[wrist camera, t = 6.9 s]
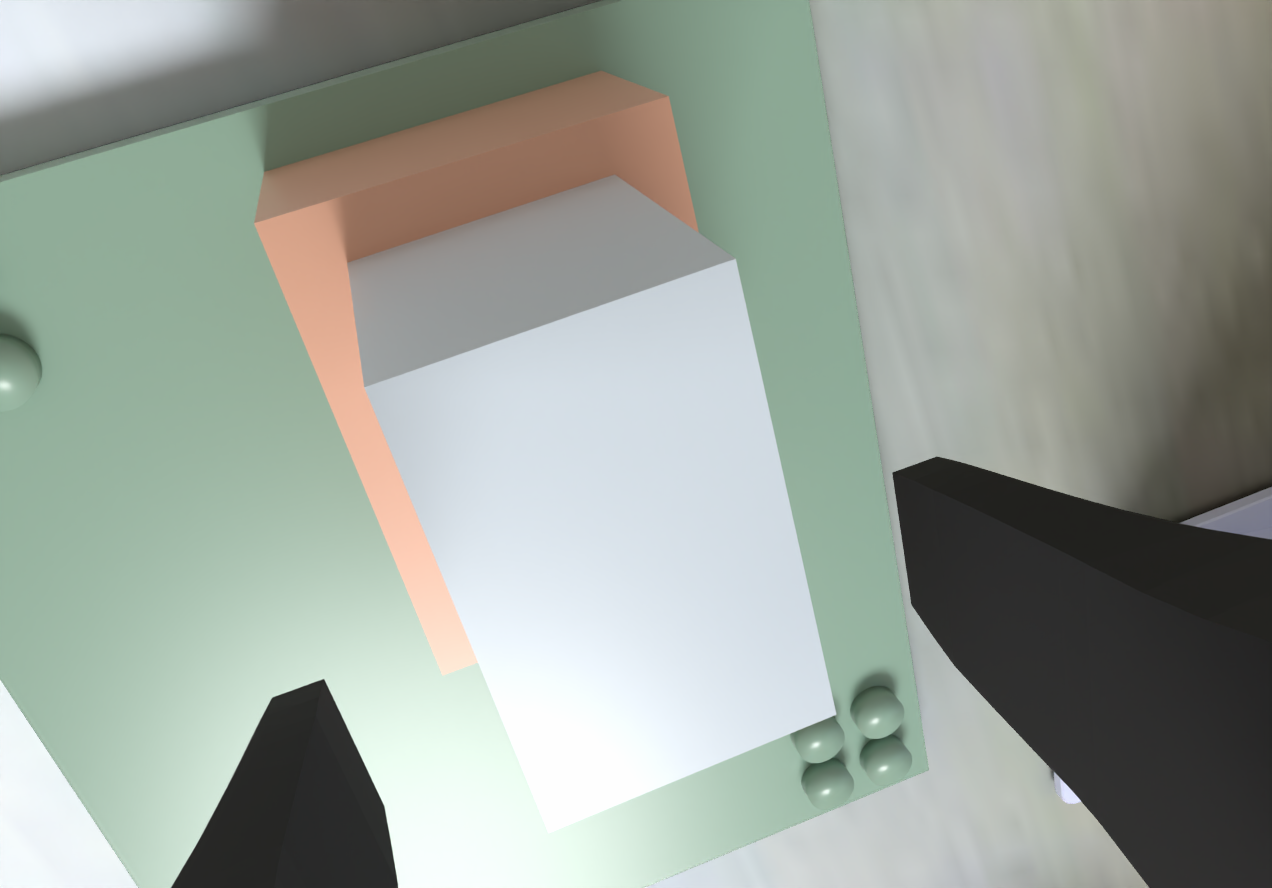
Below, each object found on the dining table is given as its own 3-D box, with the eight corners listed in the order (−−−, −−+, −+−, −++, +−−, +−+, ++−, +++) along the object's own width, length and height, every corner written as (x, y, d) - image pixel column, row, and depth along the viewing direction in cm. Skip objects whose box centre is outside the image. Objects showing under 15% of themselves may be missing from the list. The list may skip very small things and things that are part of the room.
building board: (778, -52, 20) (812, -52, 19) (910, 745, 29) (938, 783, 28) (-247, 247, 17) (-293, 270, 16) (249, 1015, 27) (246, 1071, 25)
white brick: (614, 174, 16) (736, 258, 11) (710, 535, 19) (836, 714, 14) (347, 262, 15) (364, 387, 11) (489, 620, 18) (548, 833, 14)
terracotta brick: (601, 70, 19) (669, 95, 15) (696, 460, 23) (769, 553, 19) (264, 172, 18) (254, 223, 15) (420, 559, 22) (442, 675, 18)
